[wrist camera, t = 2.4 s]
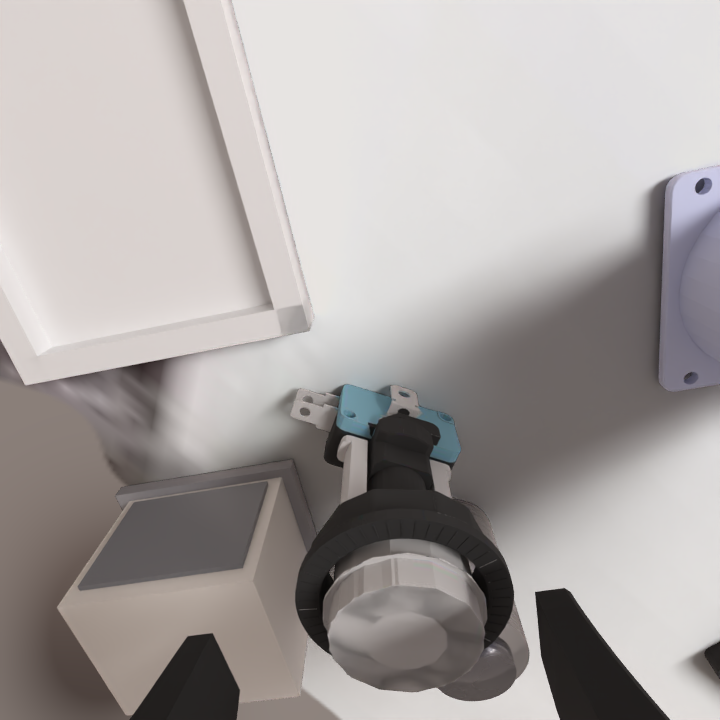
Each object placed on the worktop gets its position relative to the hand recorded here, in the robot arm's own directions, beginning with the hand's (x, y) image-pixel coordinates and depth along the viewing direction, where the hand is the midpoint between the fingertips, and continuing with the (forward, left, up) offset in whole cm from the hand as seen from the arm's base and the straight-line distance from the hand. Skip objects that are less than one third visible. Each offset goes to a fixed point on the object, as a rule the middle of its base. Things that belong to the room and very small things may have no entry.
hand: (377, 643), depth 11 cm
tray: (+7, -11, -10) cm, 17 cm away
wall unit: (+8, +5, -10) cm, 14 cm away
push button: (0, 0, -10) cm, 10 cm away
